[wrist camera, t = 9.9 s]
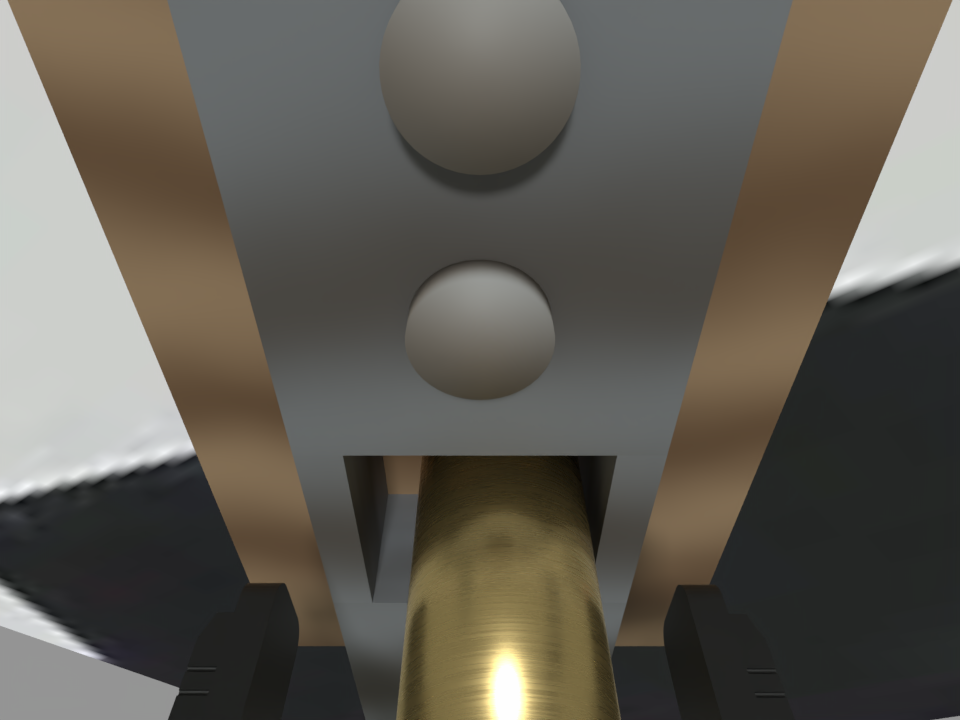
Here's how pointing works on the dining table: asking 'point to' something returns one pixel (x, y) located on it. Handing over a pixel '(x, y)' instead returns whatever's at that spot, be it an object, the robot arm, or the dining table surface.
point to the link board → (224, 340)
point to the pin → (504, 596)
